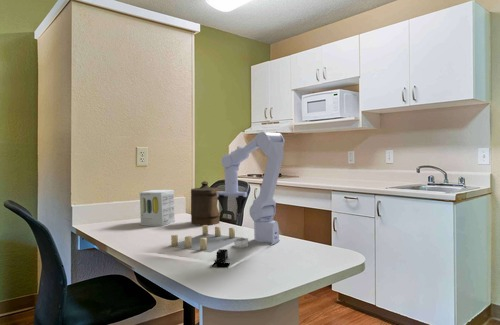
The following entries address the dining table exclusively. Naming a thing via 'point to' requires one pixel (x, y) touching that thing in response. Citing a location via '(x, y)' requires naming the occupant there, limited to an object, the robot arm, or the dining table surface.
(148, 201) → the supplement box
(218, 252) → the black block
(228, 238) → the board
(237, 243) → the faceted star polyhedron
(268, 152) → the robot arm
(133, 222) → the dining table surface
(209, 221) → the wooden container
